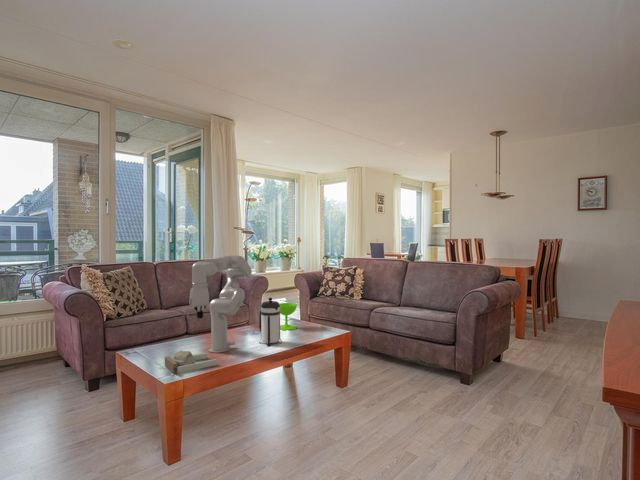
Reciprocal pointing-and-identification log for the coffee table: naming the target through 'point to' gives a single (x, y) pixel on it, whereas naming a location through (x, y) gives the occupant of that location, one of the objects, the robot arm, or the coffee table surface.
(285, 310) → the wineglass
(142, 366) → the coffee table surface
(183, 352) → the fossil replica
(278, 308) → the coffee press
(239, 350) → the coffee table surface
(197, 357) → the channel
